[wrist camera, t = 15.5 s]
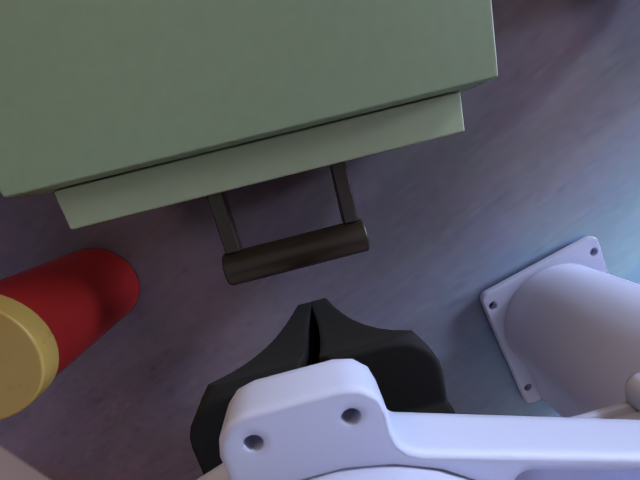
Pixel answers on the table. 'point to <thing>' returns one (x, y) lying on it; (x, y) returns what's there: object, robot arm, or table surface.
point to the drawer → (262, 165)
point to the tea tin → (57, 319)
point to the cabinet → (212, 75)
